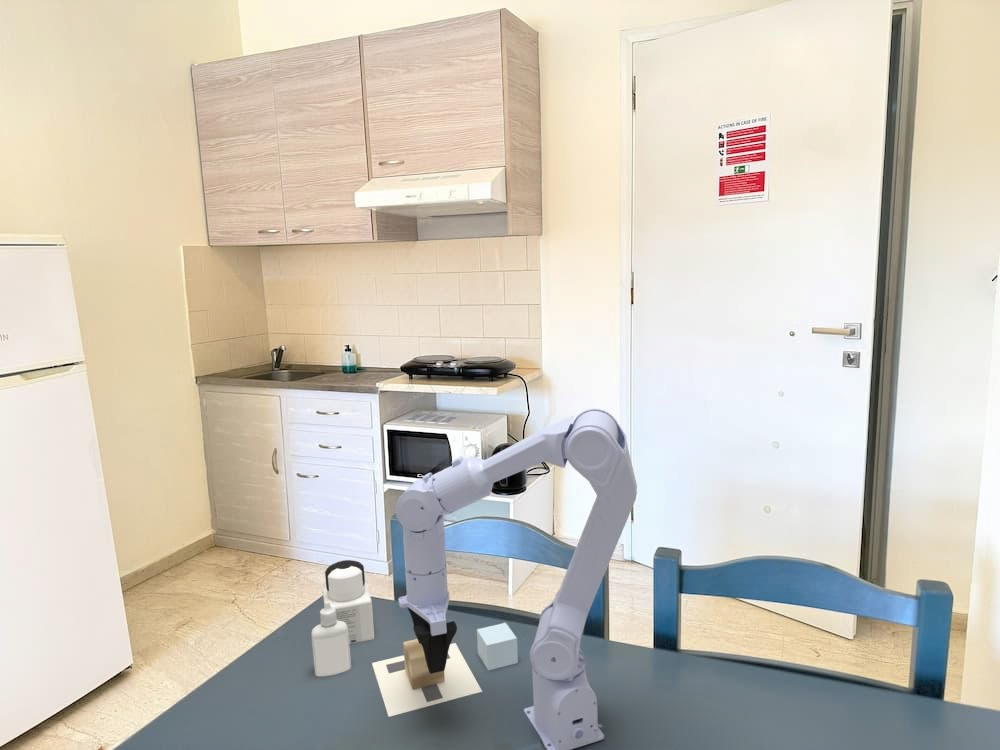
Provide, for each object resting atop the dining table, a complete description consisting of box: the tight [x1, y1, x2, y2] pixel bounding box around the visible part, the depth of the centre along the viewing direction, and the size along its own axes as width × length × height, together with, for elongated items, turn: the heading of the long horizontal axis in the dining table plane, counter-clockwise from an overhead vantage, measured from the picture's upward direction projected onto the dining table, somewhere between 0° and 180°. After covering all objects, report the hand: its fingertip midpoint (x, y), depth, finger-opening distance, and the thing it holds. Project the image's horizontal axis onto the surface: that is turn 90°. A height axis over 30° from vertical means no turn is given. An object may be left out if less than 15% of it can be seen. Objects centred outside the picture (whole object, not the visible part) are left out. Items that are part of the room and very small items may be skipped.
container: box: [322, 559, 375, 645], centre depth 116 cm, size 8×8×13 cm
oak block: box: [402, 638, 445, 690], centre depth 102 cm, size 5×5×5 cm
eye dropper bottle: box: [311, 601, 352, 677], centre depth 105 cm, size 4×6×12 cm
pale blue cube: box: [476, 622, 519, 671], centre depth 107 cm, size 5×5×5 cm
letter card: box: [371, 642, 483, 718], centre depth 103 cm, size 14×14×1 cm
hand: (431, 655), depth 95 cm, fingers open, 7 cm apart
